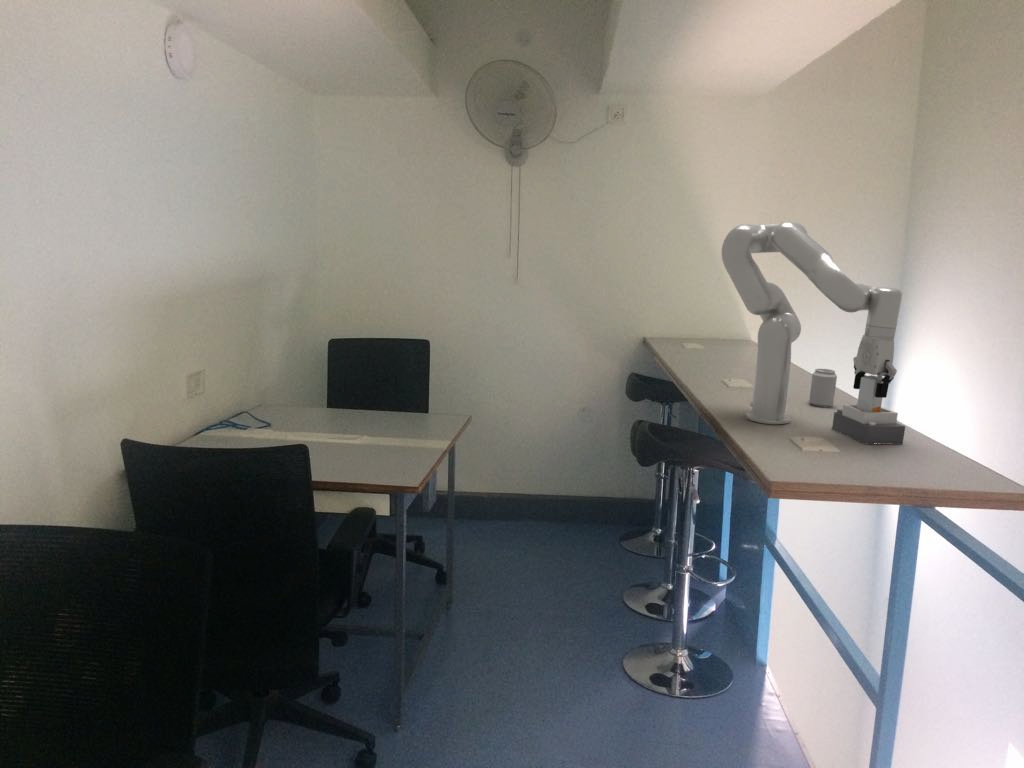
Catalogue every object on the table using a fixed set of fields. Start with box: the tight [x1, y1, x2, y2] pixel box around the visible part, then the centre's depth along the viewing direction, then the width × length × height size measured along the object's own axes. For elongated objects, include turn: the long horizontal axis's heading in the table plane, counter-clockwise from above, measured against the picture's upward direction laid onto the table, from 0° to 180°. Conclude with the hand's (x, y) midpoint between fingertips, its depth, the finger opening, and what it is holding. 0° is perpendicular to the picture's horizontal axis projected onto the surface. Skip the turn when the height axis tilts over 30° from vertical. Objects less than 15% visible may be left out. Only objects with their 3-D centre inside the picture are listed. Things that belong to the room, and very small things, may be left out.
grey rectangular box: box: [831, 404, 906, 445], centre depth 211 cm, size 16×11×8 cm
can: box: [808, 368, 838, 408], centre depth 248 cm, size 8×8×12 cm
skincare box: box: [856, 374, 884, 412], centre depth 210 cm, size 6×4×12 cm
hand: (869, 392), depth 210 cm, fingers open, 9 cm apart
